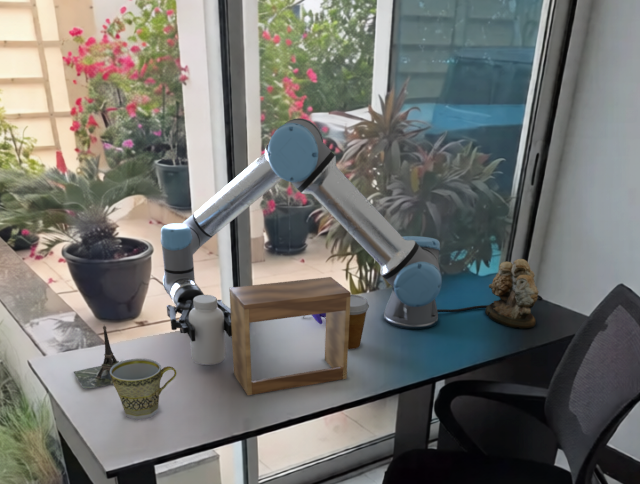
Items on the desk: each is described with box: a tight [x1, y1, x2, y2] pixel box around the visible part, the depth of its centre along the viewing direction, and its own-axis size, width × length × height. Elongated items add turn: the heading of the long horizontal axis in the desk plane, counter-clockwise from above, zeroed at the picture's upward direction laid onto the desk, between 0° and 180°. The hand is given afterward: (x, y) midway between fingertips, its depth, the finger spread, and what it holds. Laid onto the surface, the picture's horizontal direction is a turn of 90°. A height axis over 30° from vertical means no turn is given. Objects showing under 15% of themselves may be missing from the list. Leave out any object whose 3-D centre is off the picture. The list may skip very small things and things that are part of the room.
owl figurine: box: [484, 258, 539, 330], centre depth 185 cm, size 18×12×17 cm, turn 30°
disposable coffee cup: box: [348, 294, 370, 350], centre depth 166 cm, size 10×10×12 cm
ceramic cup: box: [110, 358, 177, 421], centre depth 135 cm, size 13×10×10 cm
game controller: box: [302, 313, 326, 325], centre depth 181 cm, size 10×8×10 cm
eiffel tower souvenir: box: [73, 325, 120, 389], centre depth 147 cm, size 15×10×13 cm
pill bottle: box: [189, 294, 226, 366], centre depth 152 cm, size 8×8×15 cm
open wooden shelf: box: [228, 276, 352, 396], centre depth 147 cm, size 11×24×21 cm, turn 114°
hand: (212, 333), depth 147 cm, fingers closed on pill bottle, 8 cm apart
